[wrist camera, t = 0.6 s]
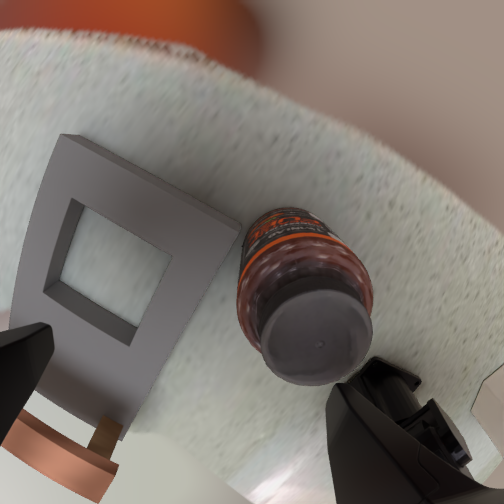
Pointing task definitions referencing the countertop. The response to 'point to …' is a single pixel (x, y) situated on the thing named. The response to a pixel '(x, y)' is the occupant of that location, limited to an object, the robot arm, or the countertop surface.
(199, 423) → the countertop surface
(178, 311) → the socket plate
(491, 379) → the jar
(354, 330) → the supplement bottle
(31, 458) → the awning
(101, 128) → the countertop surface
